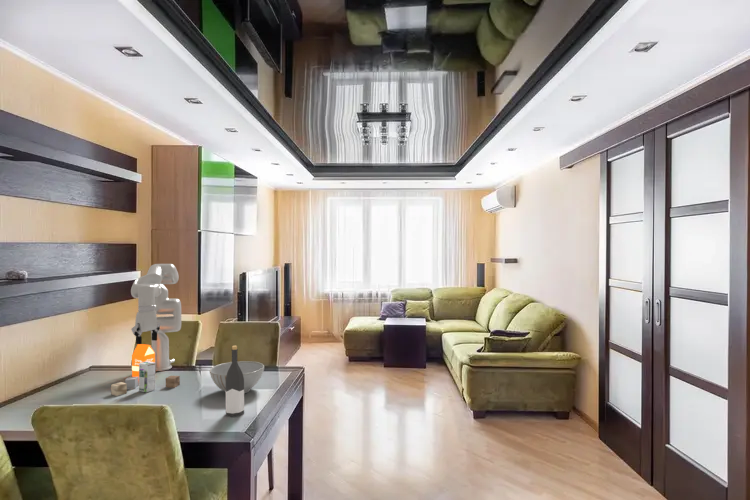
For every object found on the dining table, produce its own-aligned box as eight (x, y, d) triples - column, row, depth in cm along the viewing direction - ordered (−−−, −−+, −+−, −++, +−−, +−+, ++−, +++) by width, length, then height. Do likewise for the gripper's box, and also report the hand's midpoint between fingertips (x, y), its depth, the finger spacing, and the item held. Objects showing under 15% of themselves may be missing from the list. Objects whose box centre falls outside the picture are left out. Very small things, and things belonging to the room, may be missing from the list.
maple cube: (121, 391, 229) (121, 382, 229) (126, 393, 227) (126, 383, 227) (111, 394, 225) (111, 384, 225) (116, 396, 222) (116, 386, 222)
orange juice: (144, 382, 244) (143, 346, 244) (131, 381, 247) (131, 345, 247) (155, 378, 252) (155, 343, 251) (143, 377, 254) (143, 342, 254)
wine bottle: (246, 410, 202) (246, 343, 202) (241, 416, 194) (241, 347, 194) (228, 410, 202) (228, 344, 202) (223, 417, 194) (222, 348, 194)
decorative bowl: (207, 402, 212) (207, 377, 212) (212, 385, 238) (211, 363, 238) (265, 397, 220) (265, 372, 220) (263, 381, 245) (263, 359, 245)
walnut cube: (170, 384, 241) (170, 375, 241) (179, 385, 240) (179, 375, 240) (165, 387, 236) (165, 378, 236) (174, 387, 235) (174, 378, 235)
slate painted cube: (128, 386, 238) (128, 376, 238) (138, 385, 239) (138, 376, 239) (124, 389, 233) (124, 379, 233) (135, 388, 234) (135, 379, 234)
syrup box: (138, 391, 230) (138, 363, 230) (148, 387, 235) (148, 360, 235) (145, 392, 227) (145, 364, 227) (156, 389, 232) (155, 361, 232)
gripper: (154, 306, 240) (155, 338, 240) (126, 310, 224) (126, 344, 224) (165, 307, 238) (165, 339, 237) (137, 311, 221) (137, 345, 221)
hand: (146, 342), depth 231 cm, fingers open, 9 cm apart
